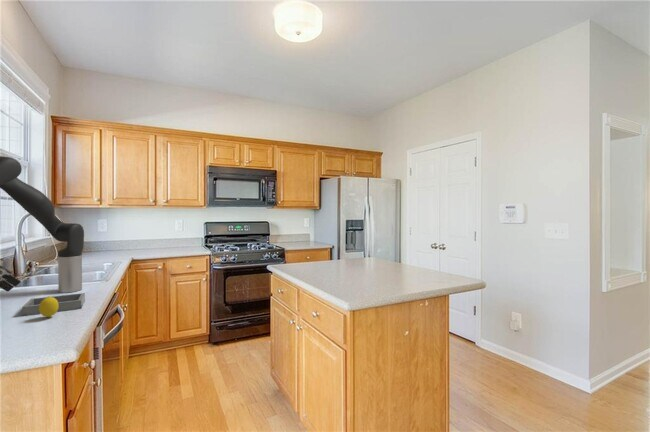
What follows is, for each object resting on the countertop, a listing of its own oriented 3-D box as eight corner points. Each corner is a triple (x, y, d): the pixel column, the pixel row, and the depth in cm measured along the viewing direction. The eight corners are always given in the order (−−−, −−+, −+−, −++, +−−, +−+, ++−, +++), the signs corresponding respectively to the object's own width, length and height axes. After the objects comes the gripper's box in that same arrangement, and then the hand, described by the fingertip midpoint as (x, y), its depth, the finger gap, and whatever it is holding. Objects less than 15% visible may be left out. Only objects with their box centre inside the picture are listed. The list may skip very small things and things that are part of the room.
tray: (31, 306, 133) (30, 298, 133) (85, 300, 142) (84, 292, 142) (22, 316, 122) (22, 307, 122) (81, 308, 131) (81, 300, 131)
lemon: (46, 315, 123) (46, 294, 123) (62, 314, 124) (62, 294, 123) (35, 320, 118) (34, 298, 117) (51, 320, 118) (51, 298, 118)
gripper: (-30, 251, 104) (18, 282, 111) (-13, 246, 116) (29, 274, 123) (-53, 269, 102) (-3, 300, 108) (-34, 262, 114) (11, 290, 120)
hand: (14, 286), depth 115 cm, fingers open, 8 cm apart
